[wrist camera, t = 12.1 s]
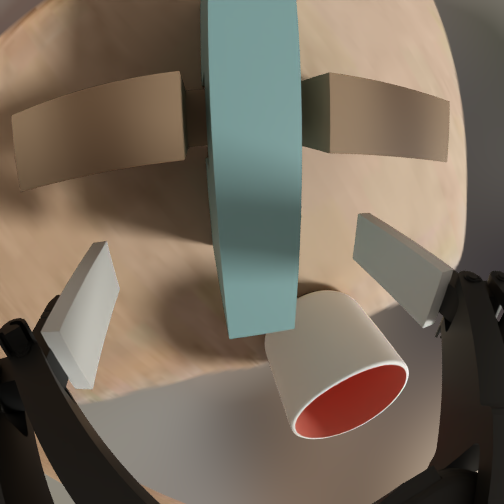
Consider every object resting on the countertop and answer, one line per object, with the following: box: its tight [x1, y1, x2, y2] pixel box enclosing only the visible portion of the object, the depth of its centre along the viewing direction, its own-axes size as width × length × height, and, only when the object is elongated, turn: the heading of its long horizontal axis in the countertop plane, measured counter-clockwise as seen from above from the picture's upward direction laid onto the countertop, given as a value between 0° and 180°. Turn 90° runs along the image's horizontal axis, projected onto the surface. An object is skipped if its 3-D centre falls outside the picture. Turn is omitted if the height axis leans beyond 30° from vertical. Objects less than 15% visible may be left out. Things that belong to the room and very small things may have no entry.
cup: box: [265, 290, 409, 439], centre depth 22 cm, size 10×10×10 cm
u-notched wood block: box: [12, 71, 449, 192], centre depth 13 cm, size 18×3×10 cm, turn 92°
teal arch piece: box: [200, 0, 302, 339], centre depth 13 cm, size 18×3×10 cm, turn 2°
